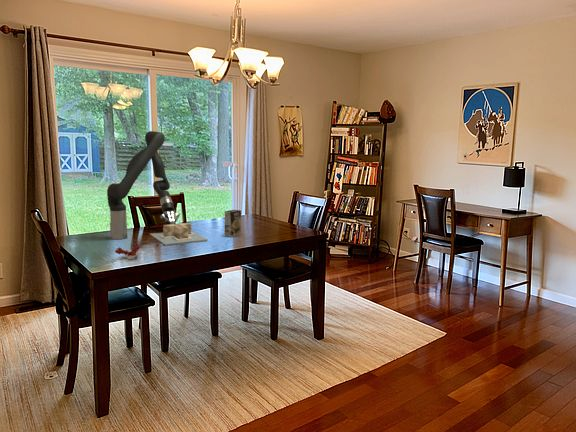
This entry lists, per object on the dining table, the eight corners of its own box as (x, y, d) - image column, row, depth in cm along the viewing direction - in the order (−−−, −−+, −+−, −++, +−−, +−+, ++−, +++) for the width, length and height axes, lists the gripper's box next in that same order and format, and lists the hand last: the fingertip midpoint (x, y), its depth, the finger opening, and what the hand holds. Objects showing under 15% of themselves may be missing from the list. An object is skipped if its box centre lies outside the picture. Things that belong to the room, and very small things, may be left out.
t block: (171, 241, 266) (171, 229, 265) (163, 236, 278) (163, 225, 277) (197, 238, 274) (196, 226, 273) (188, 233, 287) (188, 222, 286)
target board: (164, 245, 258) (164, 242, 258) (149, 235, 285) (149, 232, 285) (207, 241, 272) (207, 237, 272) (189, 231, 299) (189, 228, 298)
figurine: (123, 263, 223) (122, 250, 222) (110, 259, 230) (110, 246, 229) (149, 257, 234) (149, 244, 233) (136, 253, 241) (136, 241, 240)
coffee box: (231, 237, 283) (231, 212, 280) (224, 235, 287) (224, 210, 284) (241, 235, 290) (241, 210, 287) (234, 233, 294) (234, 209, 291)
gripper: (157, 202, 286) (164, 224, 278) (178, 201, 293) (184, 222, 285) (155, 209, 292) (161, 231, 283) (175, 208, 298) (182, 229, 290)
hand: (173, 227), depth 284 cm, fingers closed
